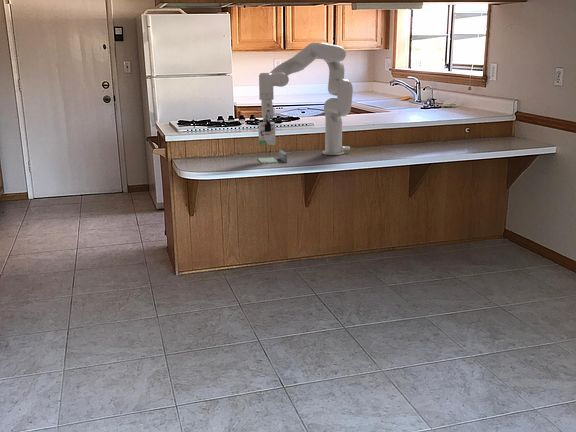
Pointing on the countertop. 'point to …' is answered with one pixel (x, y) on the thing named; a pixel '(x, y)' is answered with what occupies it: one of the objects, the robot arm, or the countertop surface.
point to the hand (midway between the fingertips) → (267, 130)
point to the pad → (267, 160)
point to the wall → (282, 156)
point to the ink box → (266, 134)
